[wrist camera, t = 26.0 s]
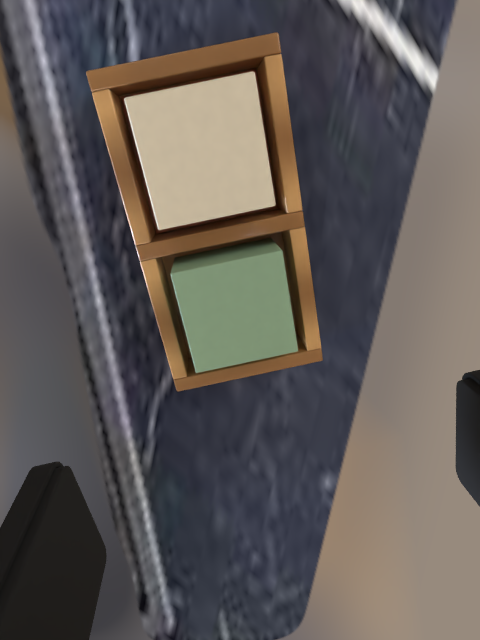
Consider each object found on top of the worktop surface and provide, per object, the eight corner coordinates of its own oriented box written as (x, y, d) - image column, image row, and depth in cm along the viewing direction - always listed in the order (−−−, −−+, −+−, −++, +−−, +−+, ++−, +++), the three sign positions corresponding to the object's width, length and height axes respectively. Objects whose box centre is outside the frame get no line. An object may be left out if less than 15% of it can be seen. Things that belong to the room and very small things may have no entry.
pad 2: (174, 257, 24) (169, 273, 20) (271, 237, 24) (282, 250, 20) (196, 345, 26) (196, 373, 22) (285, 326, 26) (298, 351, 22)
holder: (100, 83, 21) (85, 71, 18) (268, 48, 21) (278, 31, 18) (179, 367, 27) (176, 392, 24) (309, 339, 27) (323, 360, 24)
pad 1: (135, 107, 21) (123, 97, 17) (246, 84, 21) (254, 70, 17) (164, 220, 23) (158, 230, 19) (265, 199, 23) (276, 205, 19)
